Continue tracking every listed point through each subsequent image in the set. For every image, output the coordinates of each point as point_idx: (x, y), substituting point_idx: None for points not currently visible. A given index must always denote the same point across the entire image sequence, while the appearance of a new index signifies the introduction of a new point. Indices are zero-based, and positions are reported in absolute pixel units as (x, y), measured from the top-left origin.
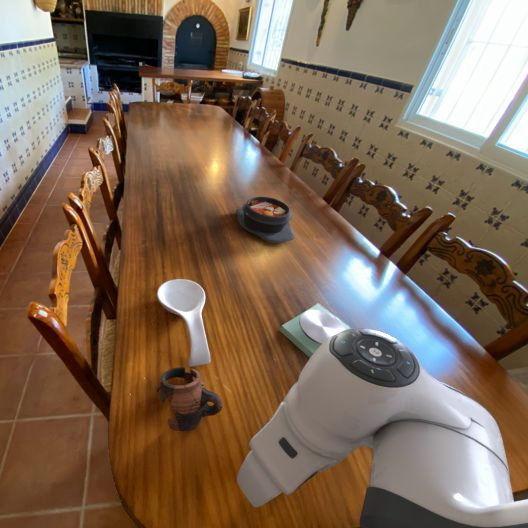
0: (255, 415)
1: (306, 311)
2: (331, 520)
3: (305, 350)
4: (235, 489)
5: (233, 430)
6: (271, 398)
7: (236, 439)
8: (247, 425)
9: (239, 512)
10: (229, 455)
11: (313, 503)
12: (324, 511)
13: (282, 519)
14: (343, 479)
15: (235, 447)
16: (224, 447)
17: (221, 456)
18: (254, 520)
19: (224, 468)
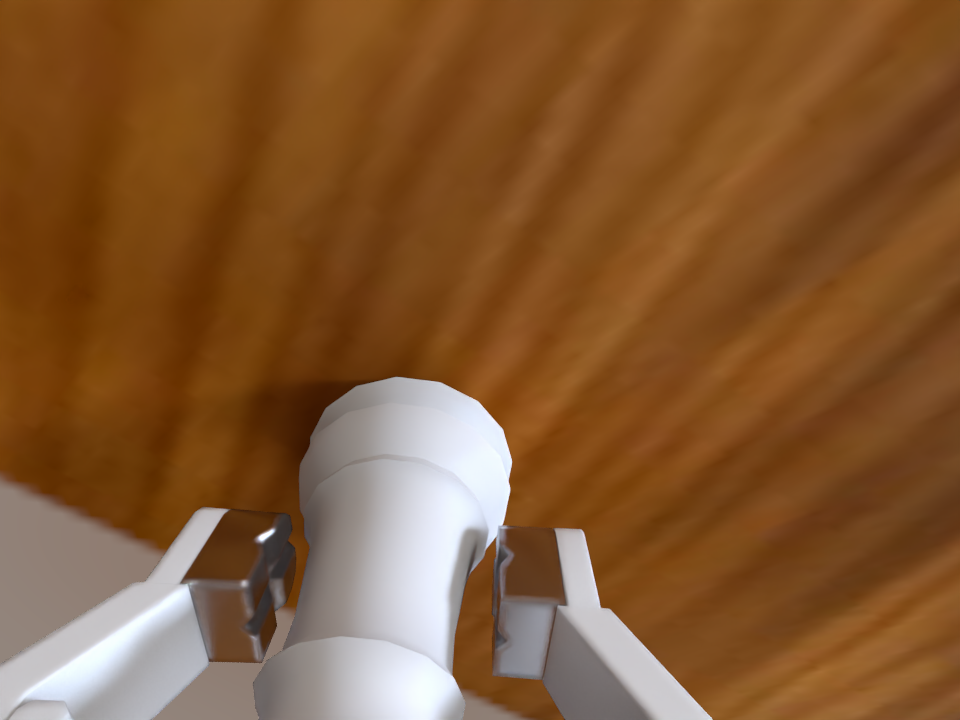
0: (589, 61)
1: None
2: (461, 688)
3: None
4: (39, 367)
5: (260, 20)
6: (914, 38)
7: (238, 114)
8: (433, 84)
9: (12, 453)
10: (98, 177)
11: None
12: (464, 664)
13: None
14: (677, 659)
15: (188, 162)
16: (81, 91)
17: (17, 135)
18: (88, 517)
19: (8, 224)
